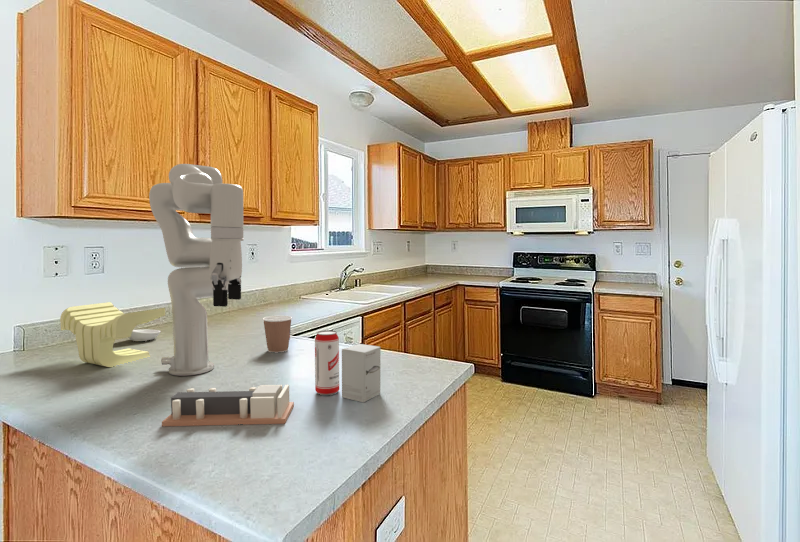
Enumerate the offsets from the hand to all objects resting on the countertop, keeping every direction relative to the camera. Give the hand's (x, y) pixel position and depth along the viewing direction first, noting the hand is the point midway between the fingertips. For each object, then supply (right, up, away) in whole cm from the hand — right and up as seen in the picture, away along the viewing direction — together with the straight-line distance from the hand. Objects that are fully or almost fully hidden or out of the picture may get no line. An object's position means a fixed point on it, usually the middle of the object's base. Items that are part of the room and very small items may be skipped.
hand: (227, 302), depth 108 cm
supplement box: (+34, -24, +2) cm, 41 cm away
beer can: (+24, -24, +4) cm, 35 cm away
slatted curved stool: (-51, -22, +34) cm, 66 cm away
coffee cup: (-1, -21, +48) cm, 52 cm away
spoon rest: (-63, -21, +60) cm, 89 cm away
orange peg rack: (+5, -25, -11) cm, 28 cm away
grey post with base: (+5, -24, -11) cm, 27 cm away
